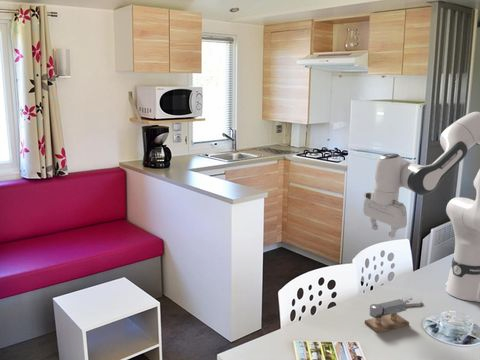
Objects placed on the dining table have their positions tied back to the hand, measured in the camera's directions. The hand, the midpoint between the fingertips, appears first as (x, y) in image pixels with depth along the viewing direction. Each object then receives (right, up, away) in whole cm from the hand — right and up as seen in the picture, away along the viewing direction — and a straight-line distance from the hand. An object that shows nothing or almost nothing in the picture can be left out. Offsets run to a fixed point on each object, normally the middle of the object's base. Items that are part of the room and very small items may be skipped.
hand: (382, 233), depth 175 cm
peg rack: (-1, -32, -9) cm, 33 cm away
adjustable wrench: (+6, -30, +4) cm, 31 cm away
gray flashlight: (-2, -27, -10) cm, 29 cm away
